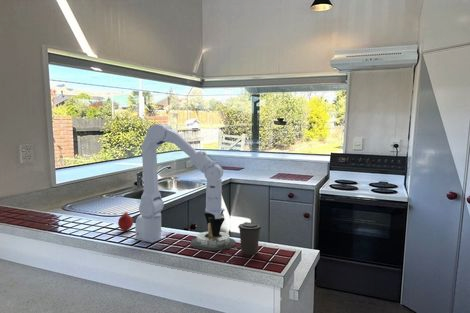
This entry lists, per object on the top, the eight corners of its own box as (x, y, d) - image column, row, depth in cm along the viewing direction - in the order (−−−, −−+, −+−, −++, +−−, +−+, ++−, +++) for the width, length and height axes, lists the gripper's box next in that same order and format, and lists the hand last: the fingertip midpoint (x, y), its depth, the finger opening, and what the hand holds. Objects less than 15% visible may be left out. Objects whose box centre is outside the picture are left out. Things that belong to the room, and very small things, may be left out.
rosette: (180, 245, 121) (180, 237, 121) (206, 234, 136) (206, 227, 136) (220, 253, 113) (221, 245, 113) (243, 240, 128) (244, 233, 128)
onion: (128, 233, 134) (128, 214, 134) (115, 232, 135) (115, 213, 135) (135, 230, 140) (135, 211, 140) (122, 229, 141) (122, 210, 141)
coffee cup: (242, 247, 120) (242, 219, 120) (263, 250, 117) (264, 222, 117) (234, 254, 113) (234, 225, 112) (257, 257, 110) (257, 227, 109)
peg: (205, 242, 123) (205, 224, 123) (211, 240, 127) (211, 221, 127) (214, 244, 122) (215, 225, 121) (220, 241, 125) (220, 223, 125)
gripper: (229, 200, 118) (228, 238, 118) (219, 193, 132) (219, 227, 132) (209, 201, 116) (209, 239, 116) (202, 194, 130) (201, 228, 130)
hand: (213, 233), depth 124 cm, fingers open, 7 cm apart
